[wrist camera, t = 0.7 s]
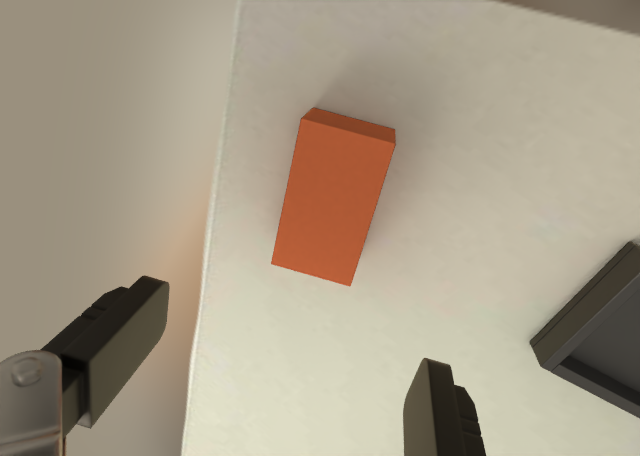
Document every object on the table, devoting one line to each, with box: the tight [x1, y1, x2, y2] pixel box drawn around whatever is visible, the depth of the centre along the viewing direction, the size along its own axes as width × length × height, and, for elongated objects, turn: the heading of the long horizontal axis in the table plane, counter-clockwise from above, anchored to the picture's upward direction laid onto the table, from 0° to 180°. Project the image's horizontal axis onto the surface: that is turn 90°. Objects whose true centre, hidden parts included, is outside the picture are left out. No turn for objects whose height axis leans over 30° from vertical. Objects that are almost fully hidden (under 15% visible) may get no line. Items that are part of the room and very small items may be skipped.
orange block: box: [271, 108, 396, 286], centre depth 25 cm, size 9×5×4 cm, turn 167°
